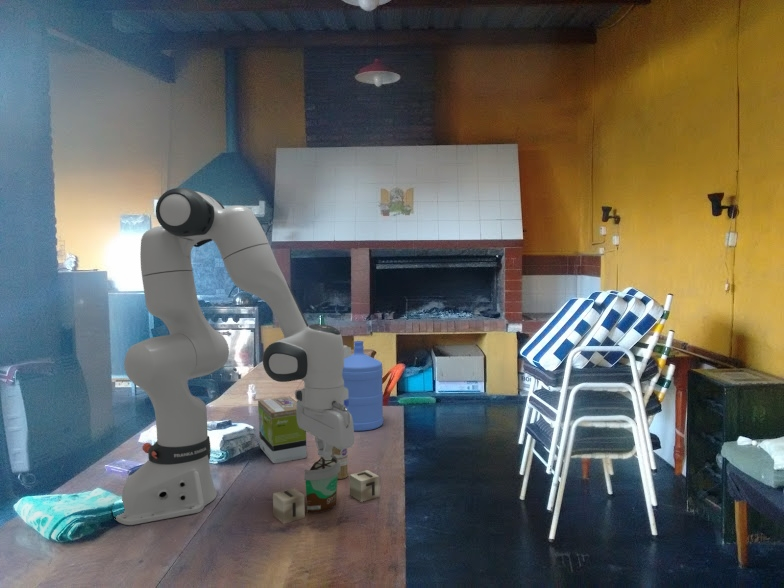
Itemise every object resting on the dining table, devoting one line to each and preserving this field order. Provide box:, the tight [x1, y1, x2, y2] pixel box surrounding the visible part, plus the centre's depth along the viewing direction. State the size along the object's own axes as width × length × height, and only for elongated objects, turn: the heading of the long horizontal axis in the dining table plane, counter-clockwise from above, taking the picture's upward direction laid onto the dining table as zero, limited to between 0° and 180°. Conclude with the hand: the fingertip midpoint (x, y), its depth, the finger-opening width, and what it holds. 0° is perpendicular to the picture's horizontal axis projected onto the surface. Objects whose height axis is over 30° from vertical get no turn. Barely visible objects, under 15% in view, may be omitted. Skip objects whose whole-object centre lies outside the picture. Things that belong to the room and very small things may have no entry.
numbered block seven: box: [349, 469, 380, 503], centre depth 136 cm, size 5×5×5 cm
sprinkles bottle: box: [331, 446, 349, 480], centre depth 148 cm, size 5×5×14 cm
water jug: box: [342, 340, 384, 432], centre depth 193 cm, size 16×16×28 cm
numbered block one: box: [272, 487, 306, 525], centre depth 126 cm, size 5×5×5 cm
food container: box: [303, 455, 341, 514], centre depth 131 cm, size 12×6×10 cm, turn 168°
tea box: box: [257, 395, 308, 464], centre depth 166 cm, size 15×10×15 cm, turn 27°
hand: (324, 457), depth 131 cm, fingers closed
